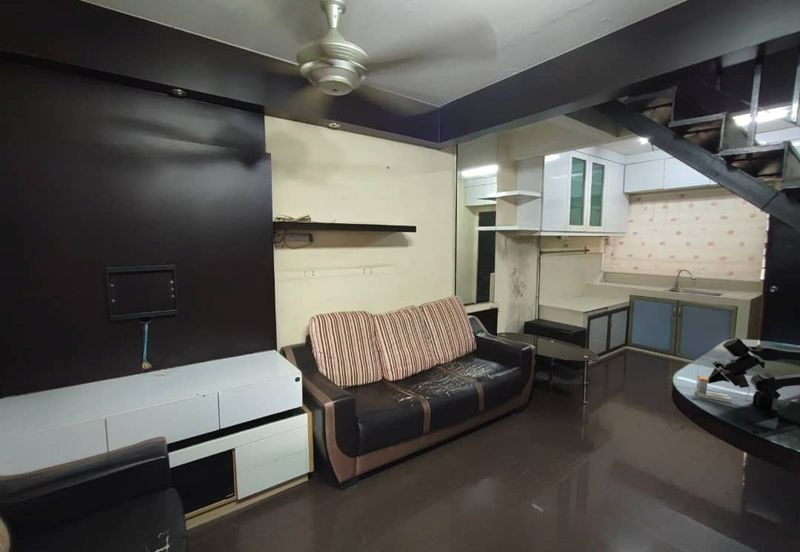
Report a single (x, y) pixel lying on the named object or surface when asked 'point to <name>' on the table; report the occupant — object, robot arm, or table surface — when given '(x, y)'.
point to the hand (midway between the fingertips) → (707, 382)
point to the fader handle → (702, 383)
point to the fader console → (714, 396)
